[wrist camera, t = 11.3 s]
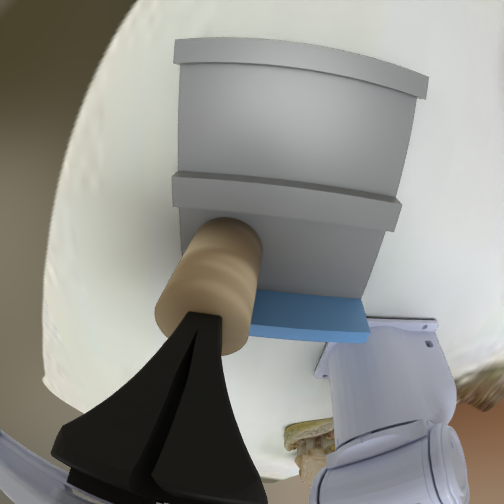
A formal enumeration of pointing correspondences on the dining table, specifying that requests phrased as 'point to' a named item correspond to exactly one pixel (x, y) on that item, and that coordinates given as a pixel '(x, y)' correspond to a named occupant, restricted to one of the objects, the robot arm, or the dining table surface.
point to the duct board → (295, 170)
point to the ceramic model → (311, 446)
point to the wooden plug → (215, 281)
